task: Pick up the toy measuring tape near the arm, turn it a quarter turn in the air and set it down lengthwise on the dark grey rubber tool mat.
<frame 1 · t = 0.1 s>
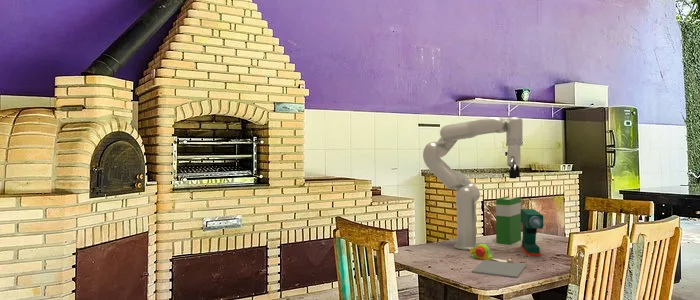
hand: (514, 177, 230), 37 cm above the table, tool pointing down, fingers open, 9 cm apart
hardback book: (508, 242, 258), on the table
tool mat: (499, 269, 199), on the table
toy measuring tape: (489, 260, 217), on the table
power tool: (533, 255, 226), on the table
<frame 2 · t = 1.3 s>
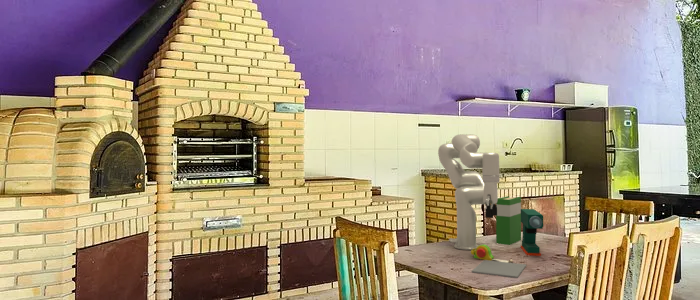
hand: (491, 216, 217), 20 cm above the table, tool pointing down, fingers open, 9 cm apart
nothing on the table moved.
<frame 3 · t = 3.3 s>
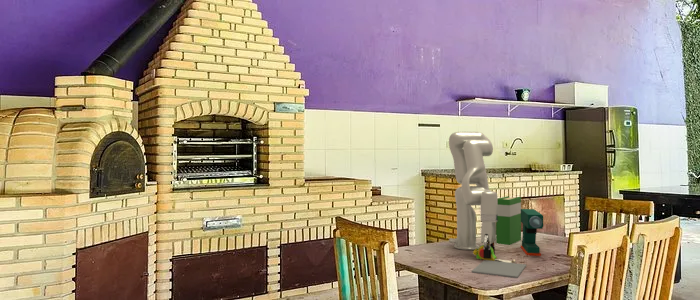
hand: (489, 256, 217), 1 cm above the table, tool pointing down, fingers open, 6 cm apart
toy measuring tape: (493, 260, 215), on the table, touching gripper
everything else where it was.
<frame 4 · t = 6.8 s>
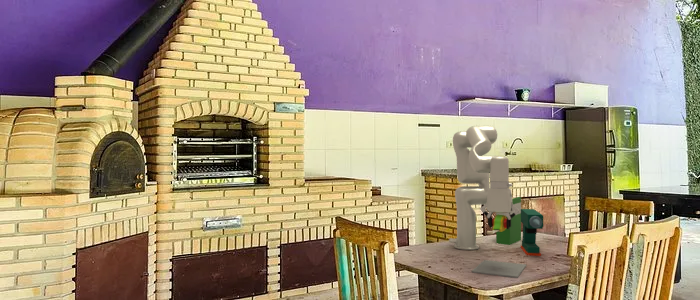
hand: (499, 227, 199), 18 cm above the table, tool pointing down, fingers closed on toy measuring tape, 6 cm apart
toy measuring tape: (497, 231, 198), point 16 cm above the table, touching gripper
everything else where it was.
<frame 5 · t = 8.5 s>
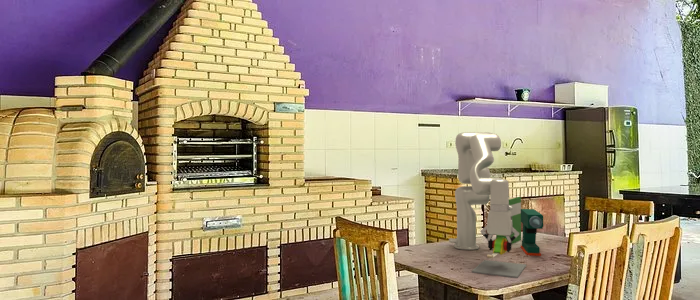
hand: (499, 250, 199), 8 cm above the table, tool pointing down, fingers closed on toy measuring tape, 6 cm apart
toy measuring tape: (497, 254, 197), point 6 cm above the table, touching gripper
everything else where it was.
when the fingers open (3 cm above the table, at t = 10.0 s): toy measuring tape drops 1 cm, resting on tool mat.
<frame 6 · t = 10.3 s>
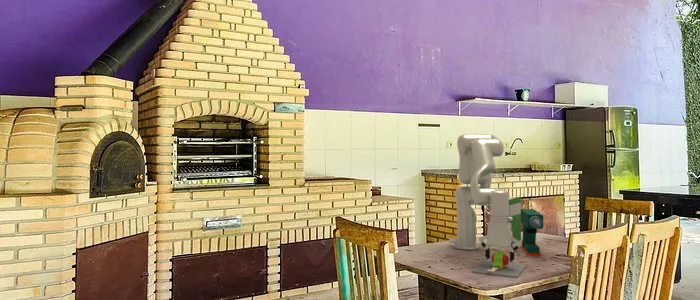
hand: (499, 259, 199), 4 cm above the table, tool pointing down, fingers open, 9 cm apart
toy measuring tape: (497, 269, 198), resting on tool mat
everything else where it was.
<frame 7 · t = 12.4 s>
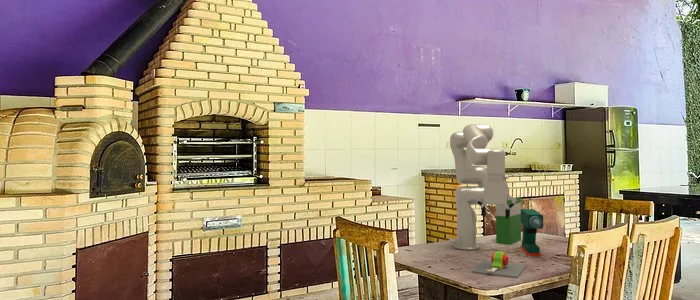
hand: (495, 217, 204), 21 cm above the table, tool pointing down, fingers open, 9 cm apart
nothing on the table moved.
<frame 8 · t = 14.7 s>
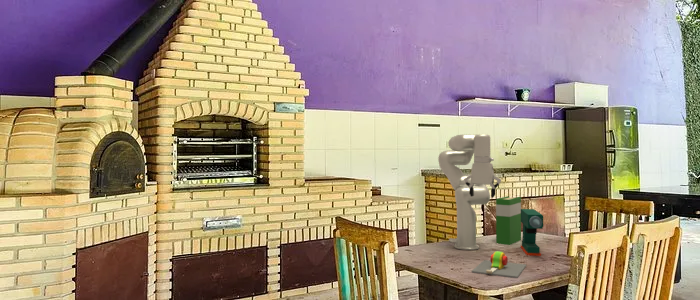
hand: (482, 196, 222), 28 cm above the table, tool pointing down, fingers open, 9 cm apart
nothing on the table moved.
at the end: toy measuring tape inside the target area on the tool mat (2.8 cm from its centre), point 0.4 cm above the tool mat's base; toy measuring tape tilted 0°; the gripper is holding nothing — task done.
